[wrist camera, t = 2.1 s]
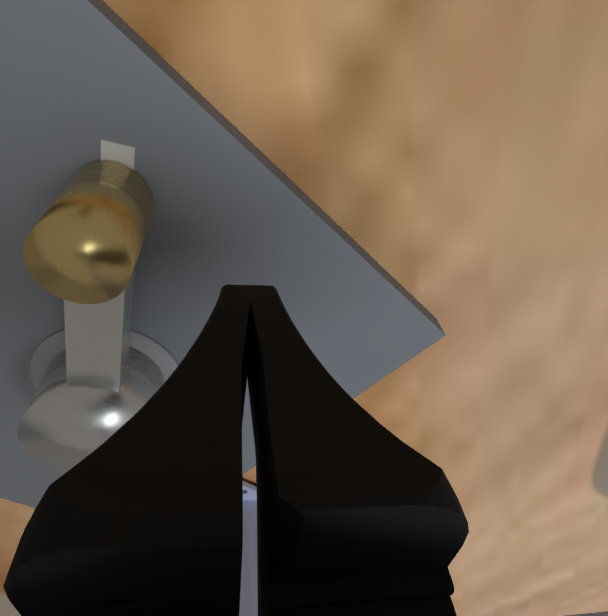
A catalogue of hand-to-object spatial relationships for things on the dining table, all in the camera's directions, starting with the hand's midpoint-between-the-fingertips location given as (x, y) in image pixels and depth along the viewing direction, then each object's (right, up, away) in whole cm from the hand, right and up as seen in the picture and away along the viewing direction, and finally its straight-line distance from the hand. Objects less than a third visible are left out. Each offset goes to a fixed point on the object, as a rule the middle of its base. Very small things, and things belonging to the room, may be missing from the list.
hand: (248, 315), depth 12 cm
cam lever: (-6, 0, +6) cm, 8 cm away
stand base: (-8, -2, +9) cm, 12 cm away
